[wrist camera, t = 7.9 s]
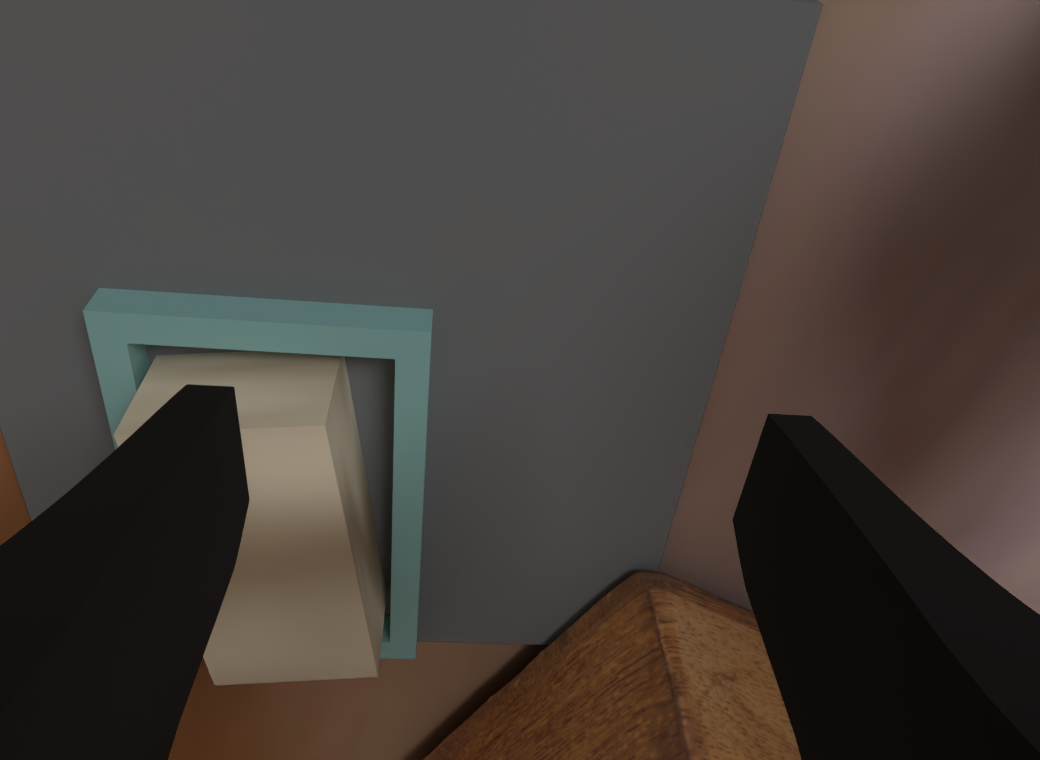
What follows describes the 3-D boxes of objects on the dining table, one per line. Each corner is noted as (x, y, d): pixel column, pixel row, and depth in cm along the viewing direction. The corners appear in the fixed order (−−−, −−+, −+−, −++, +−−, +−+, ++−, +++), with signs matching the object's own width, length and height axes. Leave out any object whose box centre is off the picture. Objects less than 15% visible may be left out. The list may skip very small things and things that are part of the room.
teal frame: (432, 309, 20) (431, 332, 19) (417, 632, 27) (415, 659, 26) (99, 288, 19) (82, 310, 19) (172, 625, 26) (162, 652, 26)
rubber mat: (814, -2, 17) (823, 4, 16) (633, 634, 28) (635, 647, 28) (-157, -103, 15) (-175, -99, 15) (74, 618, 27) (67, 631, 26)
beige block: (387, 591, 26) (377, 677, 23) (239, 598, 26) (214, 685, 23) (342, 347, 21) (325, 425, 18) (156, 355, 20) (113, 435, 18)
